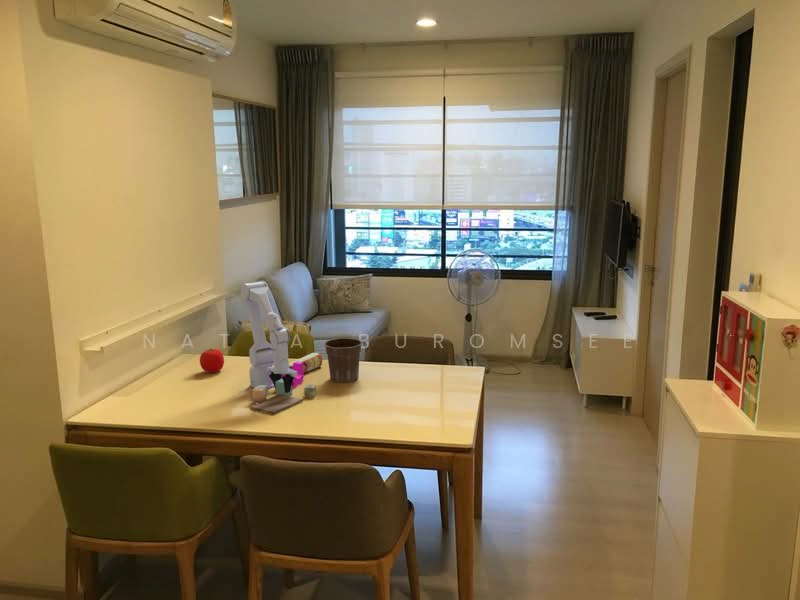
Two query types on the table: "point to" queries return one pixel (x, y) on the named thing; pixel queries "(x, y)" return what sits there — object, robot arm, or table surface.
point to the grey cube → (263, 387)
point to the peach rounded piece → (259, 394)
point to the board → (276, 404)
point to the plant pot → (343, 358)
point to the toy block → (300, 374)
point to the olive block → (310, 390)
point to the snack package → (309, 362)
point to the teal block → (281, 388)
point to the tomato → (212, 360)
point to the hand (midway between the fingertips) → (283, 391)
